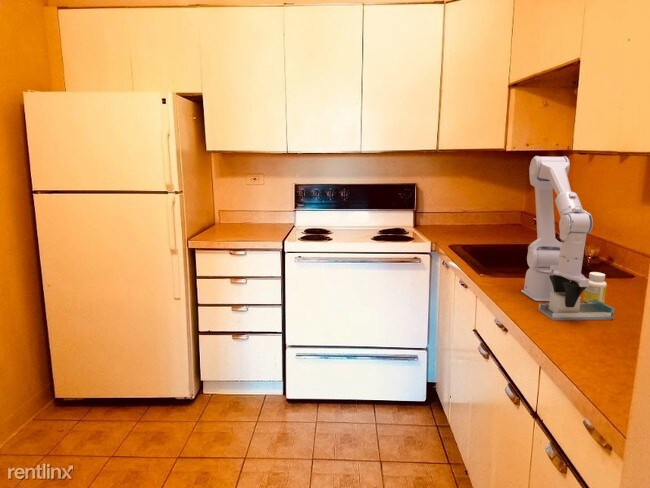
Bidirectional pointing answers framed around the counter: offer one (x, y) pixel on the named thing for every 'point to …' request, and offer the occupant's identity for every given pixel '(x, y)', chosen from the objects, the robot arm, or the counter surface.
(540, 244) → the robot arm
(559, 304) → the block
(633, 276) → the counter surface
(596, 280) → the supplement bottle
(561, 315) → the rail plate
